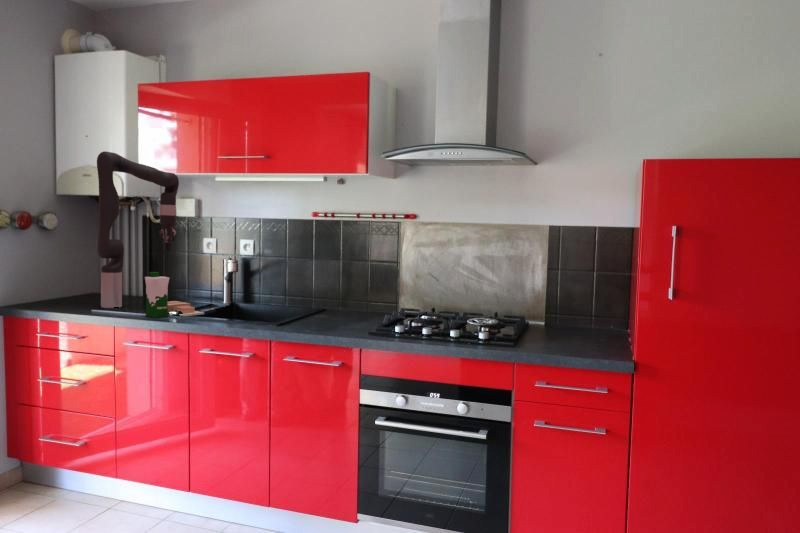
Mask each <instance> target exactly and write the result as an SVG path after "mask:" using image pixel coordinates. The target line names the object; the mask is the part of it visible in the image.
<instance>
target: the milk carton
mask: <svg viewBox="0 0 800 533" xmlns="http://www.w3.org/2000/svg"><path fill="white" fill-rule="evenodd" d="M144 280H145V281H144V282H145V317H148V318H153V319H157V318H159V319H160V318H165V317H166V318H167V317H169V314H168V302H169V301H168V298H169V296H168V295H169V292H168V289H169V287H168V286H169V282H170V277H168V276H160V272H159V271H150V272H149V276H144Z"/></svg>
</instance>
